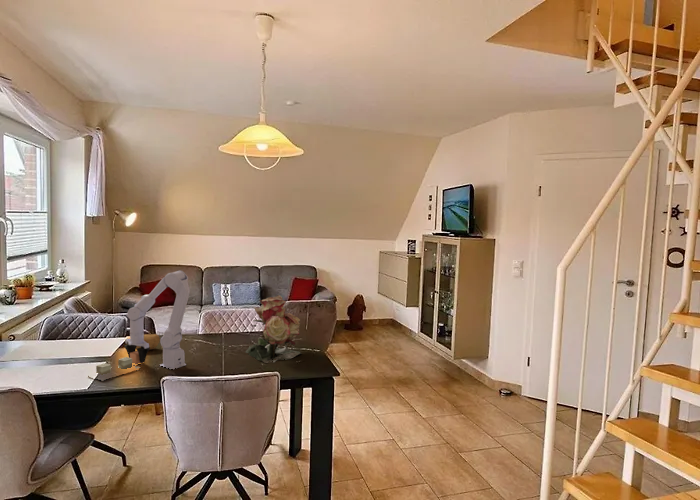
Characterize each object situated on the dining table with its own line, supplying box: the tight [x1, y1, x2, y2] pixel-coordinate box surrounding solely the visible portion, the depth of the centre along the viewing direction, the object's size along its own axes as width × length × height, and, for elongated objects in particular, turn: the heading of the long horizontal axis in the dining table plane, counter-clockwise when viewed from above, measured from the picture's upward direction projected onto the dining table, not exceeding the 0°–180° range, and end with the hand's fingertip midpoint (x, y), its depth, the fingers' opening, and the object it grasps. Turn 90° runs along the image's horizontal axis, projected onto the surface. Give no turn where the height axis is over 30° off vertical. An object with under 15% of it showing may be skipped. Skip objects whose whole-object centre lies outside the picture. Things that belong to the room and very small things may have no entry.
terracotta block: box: [130, 350, 140, 364], centre depth 209 cm, size 4×4×6 cm
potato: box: [135, 333, 161, 351], centre depth 229 cm, size 10×14×8 cm
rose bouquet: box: [245, 295, 302, 364], centre depth 228 cm, size 26×29×30 cm
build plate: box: [95, 356, 141, 375], centre depth 196 cm, size 10×18×5 cm, turn 151°
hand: (137, 360), depth 209 cm, fingers open, 7 cm apart
